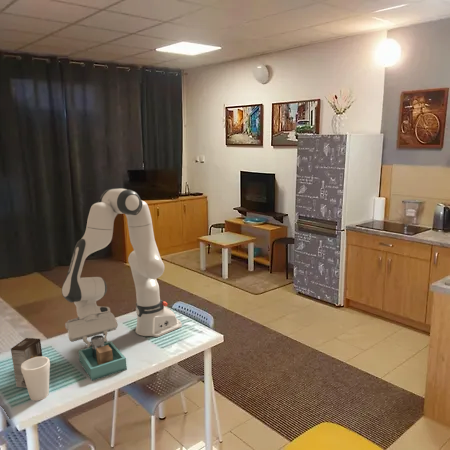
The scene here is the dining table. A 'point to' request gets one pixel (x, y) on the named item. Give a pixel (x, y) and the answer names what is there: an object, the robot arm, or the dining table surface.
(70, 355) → the dining table surface
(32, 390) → the foam cup
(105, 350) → the walnut block
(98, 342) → the grey cylinder
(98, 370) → the tote
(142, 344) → the dining table surface
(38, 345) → the coffee box
